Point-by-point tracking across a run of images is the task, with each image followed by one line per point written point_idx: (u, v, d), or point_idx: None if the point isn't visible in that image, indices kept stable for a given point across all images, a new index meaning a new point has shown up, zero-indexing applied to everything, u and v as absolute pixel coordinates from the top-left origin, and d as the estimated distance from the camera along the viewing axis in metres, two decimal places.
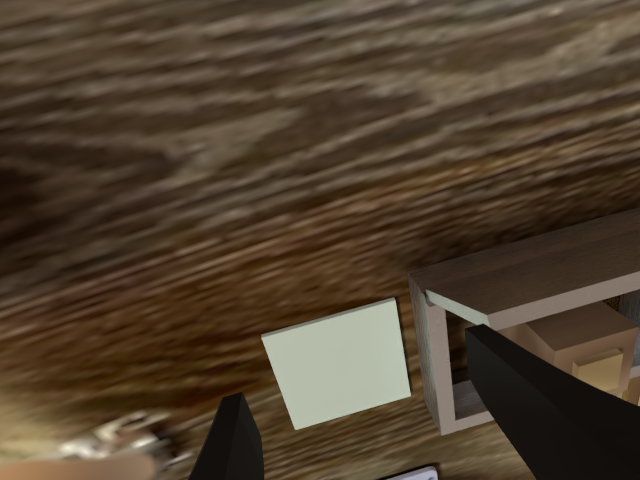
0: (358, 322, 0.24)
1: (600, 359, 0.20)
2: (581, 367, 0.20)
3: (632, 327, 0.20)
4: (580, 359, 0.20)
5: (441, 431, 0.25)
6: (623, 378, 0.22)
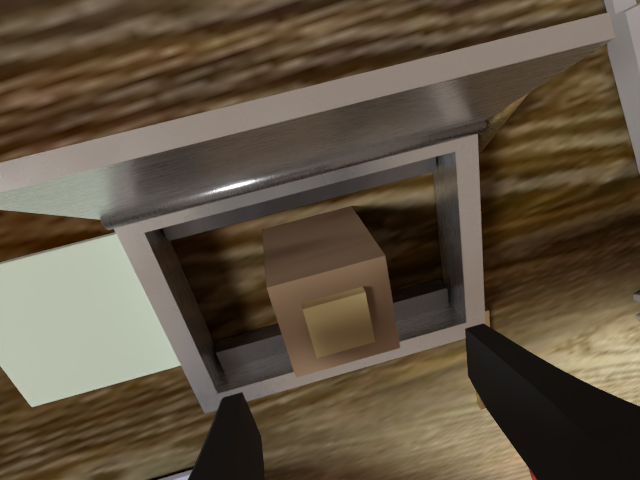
0: (73, 263, 0.18)
1: (335, 300, 0.15)
2: (307, 310, 0.15)
3: (377, 256, 0.15)
4: (312, 300, 0.15)
5: (203, 407, 0.20)
6: (389, 331, 0.16)
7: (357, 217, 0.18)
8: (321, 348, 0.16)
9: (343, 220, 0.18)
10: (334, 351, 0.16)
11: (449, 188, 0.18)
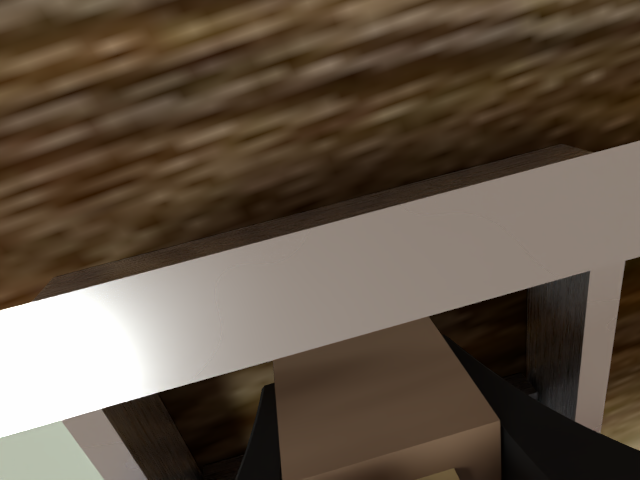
0: None
1: None
2: None
3: (484, 421, 0.08)
4: None
5: None
6: None
7: None
8: None
9: None
10: None
11: None
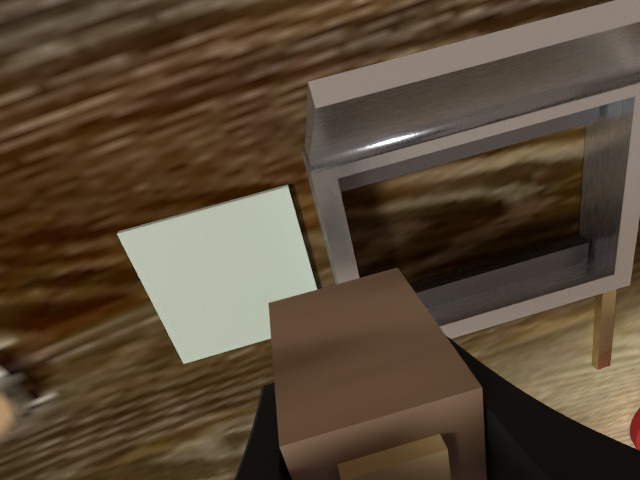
0: (244, 217, 0.19)
1: (395, 462, 0.09)
2: None
3: (468, 388, 0.09)
4: (355, 458, 0.09)
5: None
6: None
7: (412, 292, 0.12)
8: None
9: (391, 296, 0.12)
10: None
11: (614, 136, 0.18)
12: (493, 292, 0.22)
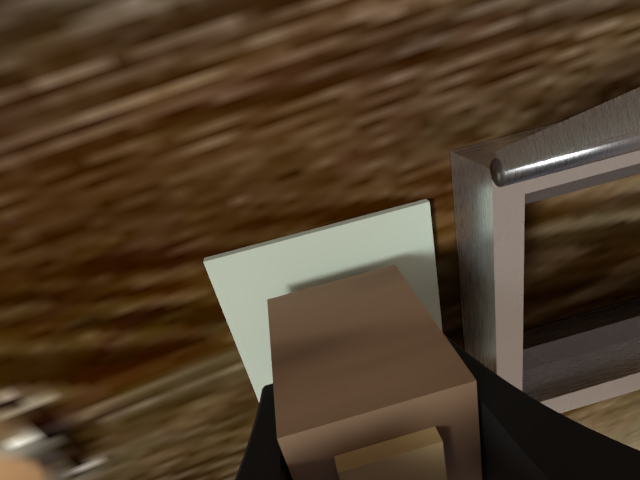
0: (368, 240, 0.14)
1: (391, 454, 0.09)
2: (345, 474, 0.09)
3: (462, 381, 0.09)
4: (352, 451, 0.09)
5: None
6: None
7: (409, 288, 0.12)
8: None
9: (388, 292, 0.12)
10: None
11: None
12: None
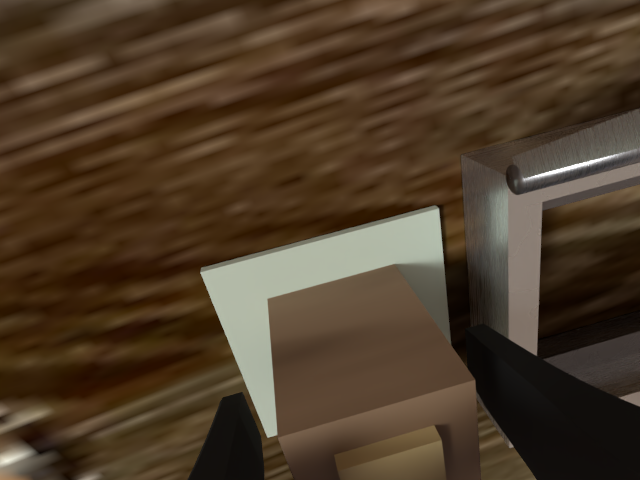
0: (374, 249, 0.13)
1: (390, 452, 0.09)
2: (345, 472, 0.09)
3: (461, 380, 0.09)
4: (352, 450, 0.09)
5: (509, 441, 0.15)
6: None
7: (408, 287, 0.12)
8: None
9: (388, 292, 0.12)
10: None
11: None
12: None
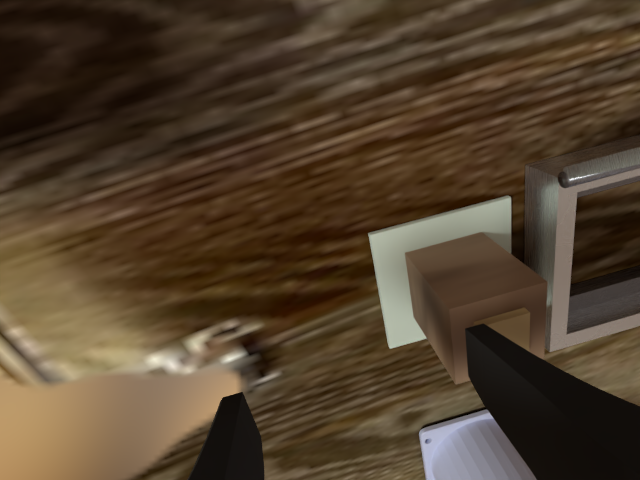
0: (470, 222, 0.22)
1: (503, 319, 0.18)
2: None
3: (540, 282, 0.17)
4: (482, 319, 0.18)
5: (550, 347, 0.24)
6: (538, 344, 0.19)
7: (495, 243, 0.21)
8: None
9: (483, 246, 0.21)
10: None
11: None
12: None
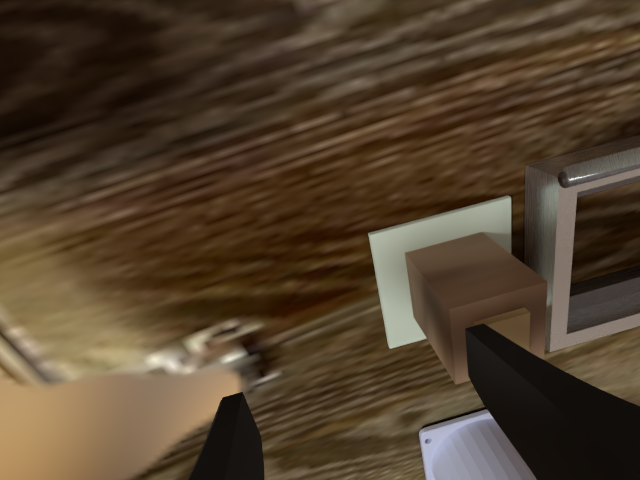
0: (470, 222, 0.22)
1: (503, 319, 0.18)
2: None
3: (540, 282, 0.17)
4: (482, 319, 0.18)
5: (550, 347, 0.24)
6: (538, 344, 0.19)
7: (495, 243, 0.21)
8: None
9: (483, 246, 0.21)
10: None
11: None
12: None
